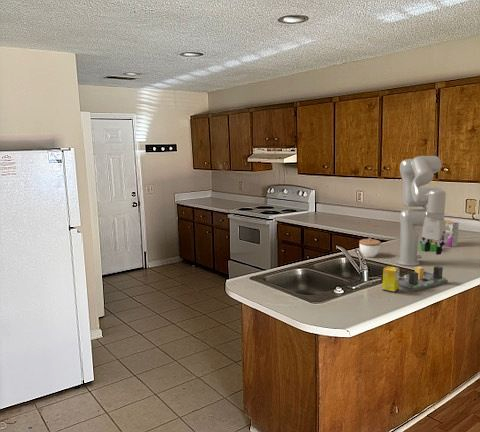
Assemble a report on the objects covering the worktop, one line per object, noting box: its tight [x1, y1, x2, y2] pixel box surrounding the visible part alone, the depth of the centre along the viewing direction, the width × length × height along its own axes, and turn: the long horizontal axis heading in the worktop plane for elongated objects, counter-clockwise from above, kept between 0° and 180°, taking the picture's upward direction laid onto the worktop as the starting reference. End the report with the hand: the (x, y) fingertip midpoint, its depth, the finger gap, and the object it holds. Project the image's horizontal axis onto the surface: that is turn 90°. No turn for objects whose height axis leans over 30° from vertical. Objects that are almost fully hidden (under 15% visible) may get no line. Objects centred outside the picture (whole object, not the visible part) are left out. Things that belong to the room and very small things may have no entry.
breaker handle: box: [414, 266, 425, 280], centre depth 221 cm, size 3×3×6 cm
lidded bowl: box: [358, 237, 381, 258], centre depth 272 cm, size 13×13×11 cm
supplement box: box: [382, 265, 401, 294], centre depth 212 cm, size 6×6×11 cm
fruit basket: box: [418, 240, 438, 253], centre depth 284 cm, size 11×9×11 cm
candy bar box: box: [443, 219, 460, 248], centre depth 296 cm, size 11×5×16 cm, turn 22°
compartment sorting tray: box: [399, 265, 449, 293], centre depth 222 cm, size 26×14×8 cm, turn 119°
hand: (432, 252), depth 213 cm, fingers open, 5 cm apart
